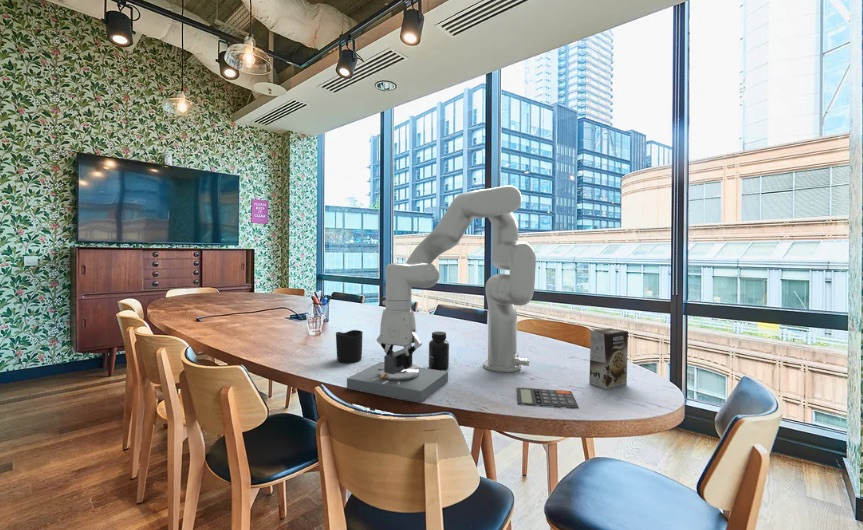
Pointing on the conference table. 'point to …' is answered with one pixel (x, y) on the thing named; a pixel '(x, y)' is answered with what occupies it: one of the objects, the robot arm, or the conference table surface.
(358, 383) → the stand
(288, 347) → the conference table surface
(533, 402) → the calculator
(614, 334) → the coffee box
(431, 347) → the supplement bottle
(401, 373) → the gray block on plate
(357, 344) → the pen holder
